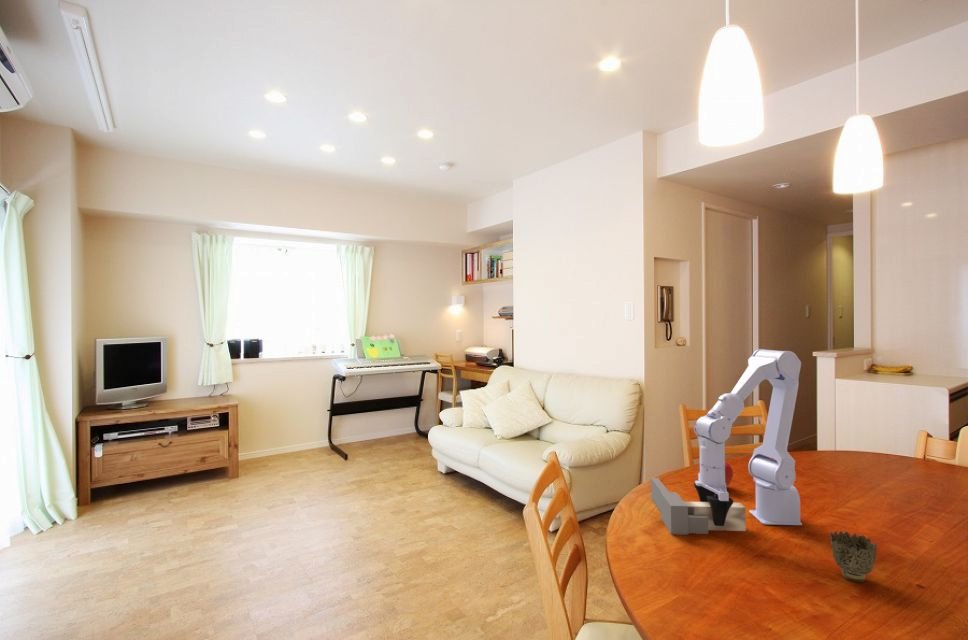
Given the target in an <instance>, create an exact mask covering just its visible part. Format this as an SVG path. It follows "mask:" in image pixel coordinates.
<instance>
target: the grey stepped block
mask: <svg viewBox="0 0 968 640" xmlns="http://www.w3.org/2000/svg"><path fill="white" fill-rule="evenodd" d="M650 498H651V501H652V502H653V503H654V504H655V506H656V508H657V509H658V510H659V512H660V519H661V521H662V523H663V524H664V526H665V527H666V528H667V530H668V532H669V533H670V534H671V535H679V536H680V535H684V536H685V535H686V536H688V535H689V534H692V533H693V534H695V533H696V534H698V535H699V534H701V535H702V534H703V535H709V530H708V517H707V516H706V515H688V506H687V505H686V503H685V502H686V501H684V500H683V499H682V497H681V496H680V495H679V494H678V493H677V492H673V491H672V492H671V491H669V490H668V489H667V488H666V486H665V485H664V484H663V482H661V480H660V479H659V477H650Z"/></svg>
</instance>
